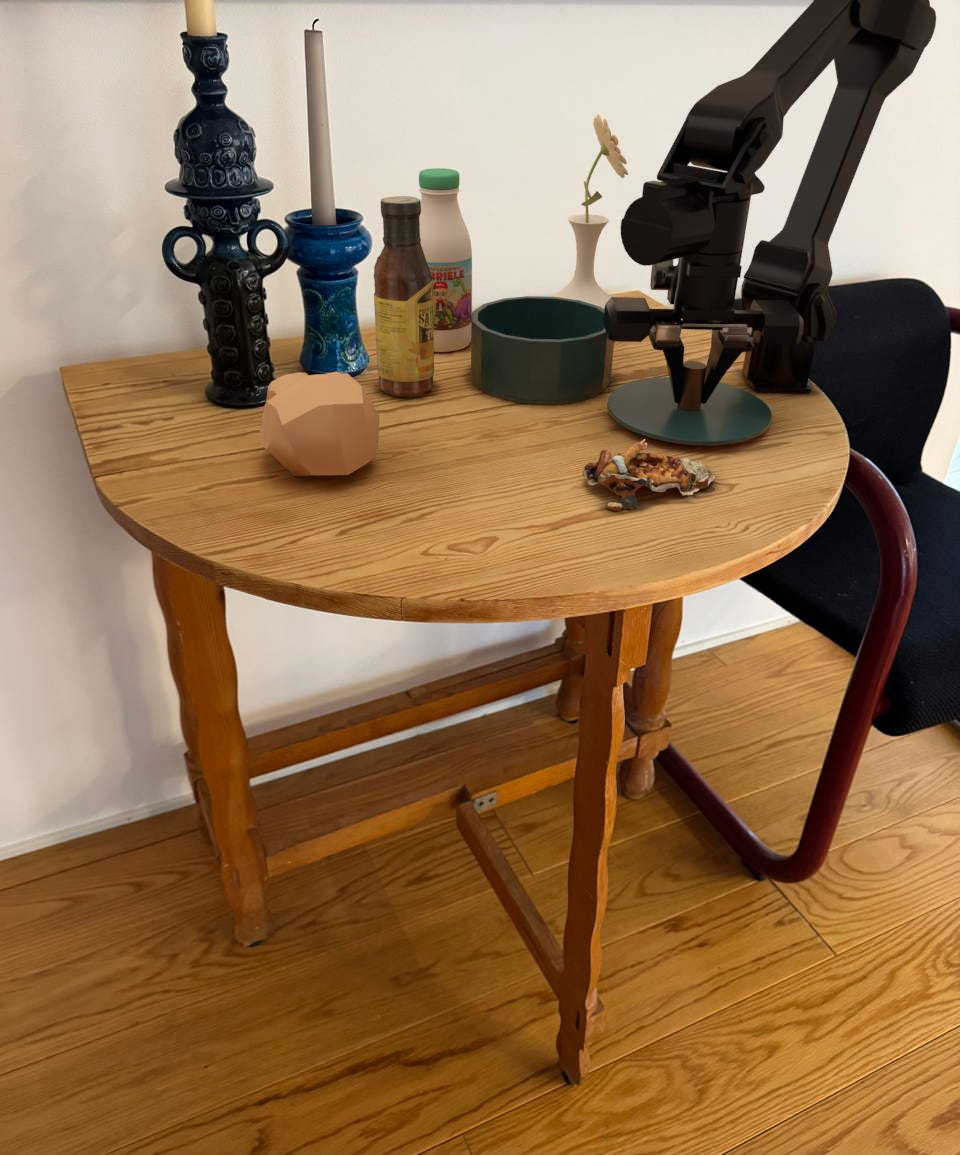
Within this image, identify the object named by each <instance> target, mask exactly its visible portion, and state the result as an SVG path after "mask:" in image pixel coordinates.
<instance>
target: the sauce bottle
mask: <svg viewBox="0 0 960 1155" xmlns="http://www.w3.org/2000/svg"><path fill="white" fill-rule="evenodd" d="M380 213H381V217H382V224H383V225H382V227H383V229H382V230H383V237H382V242H383V247H382V250H381V252H380V253H379V255H378V256H377V258H376V261H375V264H374V266H373V279H374V293H373V304H374V325H375V326H374V327H375V348H376V349H375V350H376V352H375V353H376V369H377V371H376V372H377V375H378V386H379V389H380V390H381V391H382V392H384V393H385V394H388V395H391V396H394V397H415V396H418V395H424V393H425V394H426V393H428V392H429V391H430V390H431V389H432V388H433V386H434V375H435V352H434V330H433V329H434V326H433V321H434V319H433V278H432V275H431V272H430V270H429V267H428V264H427V261H426V258H425V255H424V252H423V249H422V247H421V243H420V242H421V239H420V223H419V216H420V214H421V199H420V198H418V197H416V196H415V197H414V196H410V195H409V196H408V195H395V196H387V197H383V198H381V199H380Z"/></svg>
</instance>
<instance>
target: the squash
mask: <svg viewBox="0 0 960 1155" xmlns="http://www.w3.org/2000/svg"><path fill="white" fill-rule="evenodd" d="M265 400H266V401H265V403H264V406H263V410H262V415H261V416H262V417H261V422H260V428H259V435H258V441H257V442H258V443H259V444H260V446H262V447H263V448H264V449H265V450H266V451H267V452H268V453H269V454H271V456H273V457H274V458H275V459H276V460H277V461H278V463H280V464H281V465H282V466H283V467H284V468H285V469H286V470H287V471H289V473H291V475H293V477H322V476H325V477H326V476H327V477H328V476H349V475H350V474H352V473H354V472H355V471H357V470H359V469H361V468H362V467H364V466H365V465H367V464H368V463H369V462H370V460H372V458H373V457H374V456H375V454H377V452H378V451H379V447H380V443H379V442H380V413H379V412H378V411H377V409H376V407H375V406H374V404H373V402H372V401H371V399H370V398H369V396H368V395H367V392H366V391H365V389H364V387H363V385H361V384H360V383H359V382H358V381H357V380H355V379H354V378H353V377H352V376H351V375H350V374H349V373H348V372H346V373H344V372H342V373H340V372H339V371H333V372H327V373H319V374H311V375H309V374H308V373H307V372H300V371H299V372H294V373H288V374H284V375H281V376H279V377H277V378H275V379H274V380H272V381H270V383H269V384H268V386H267V392H266V399H265Z"/></svg>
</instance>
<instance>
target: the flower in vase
mask: <svg viewBox="0 0 960 1155" xmlns="http://www.w3.org/2000/svg"><path fill="white" fill-rule="evenodd" d="M592 125H593V128H594V131H595V134H596V137H597V141H598V143H599V145H600V151H599V152H598V154H597V156H596V157H595V160H594V162H593V163H592V166H591V168H590V170H589V173H588V175H587V178H586V181H585V180H584V181H583V186H584V201H583V202H582V203H581V204H580V205H581V206H584V207H585V213H584V214H583V213H582V214H573V215H570V216H568V217H567V221H568V222H569V224H570V225H571V228H572V231H573V233H574V237H575V238H574V239H575V245H576V246H575V247H576V248H575V249H576V250H575V251H576V257H575V258H576V260H575V261H576V262H575V270H574V273H573V274H574V275H573V276H572V279H571V280H570V281H569V282H568V284H567V285H565V286H564V287H563V288H561V289H559V291H557V292H556V293H554V294H553V295H552V296H551V297H560V298H567V299H574V300H580V301H583V302H587V303H590V304H593V305H597V306H600V307H602V308H603V309H605V305H606V303H607V301H608V300H609V299H610V298H611V297H612V296H610V295H609V294H608V293H607V292H606V291H605V290H604V289H603V288H602V287H601V286H600V285H599V284H598V282H597V281H596V278H595V268H594V267H595V256H596V250H597V247H598V246H597V245H598V242H599V238H600V236H601V234H602V231H603V230H604V228H605V227H606V225H607V224H608V223H609V222H610V219H609V218H608V217H606V216H603V215H598V214H589V206H590V205H592V204H594V203H596V202H598V201H599V200H601V199H602V198H603V196H602V194H601V193H600V192H599V191H598V190H596V191H595V192H594V193H593V195H592V194H591V193H590V190H589V184H590V181H591V178H592V175H593V173H594V170H595V169H596V166H597V164H598V163H599V161H600V159H601V157H602V155H603V156H605V157H606V160H607V161H608V162H609V164H610V166H611V167H612V169H613V170H614V171H615V173H616V174H617V175H618V176H619V177H620V178H621V179H625V176H629V171H628V169H627V168H626V167H625V165H627V164H628V162H627V160H626V157H625V156H624V155H623V154H622V152H621V149H620V148H619V146H618V145H619V139H618V137H617V135H615V134H612V132H611V131H612V130H611V128H610V127H609V123H608V120H607V119H606V118H605V117H603V119H602V117H601V115H600V114H598V113H597V114H596V116H594V117H593V122H592Z"/></svg>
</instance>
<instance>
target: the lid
mask: <svg viewBox="0 0 960 1155" xmlns="http://www.w3.org/2000/svg"><path fill="white" fill-rule="evenodd" d="M706 365H707V363H706V364H705V363H704V362H701V361H696V360H688V361H684V362H683V377H682V392H681V396H680V401H679V403H675V401H674V398H673V393H672V388H671V383H670V378H669V376H661V377H651V378H643V379H638V380H634V381H631V382H628V383H625V384H623V385H621V386H618V387H617V388H616V389H614V390H613V391H612V392H611V393H610V395H609V397H608V399H607V405H606V407H607V411H608V413H609V415H610V416H611V418H612V419H613V420H614V421H615V422H616V423H617V424H619V425H621V426H622V427H623V428H625V429H627V430H629V431H631V432H634V433H635V434H638V435H641V436H644V437H647V438H650V439H653V440H657V441H662V442H667V443H673V444H678V445H688V446H722V445H723V446H724V445H725V446H726V445H733V444H738V443H743V442H746V441H749V440H753V439H755V438H757V437H759V436H761V435H763V434H764V433H765V432H766V431H767V430H768V429H769V428H770V426H771V424H772V419H773V413H772V411H771V409H770V407H769V405H768V404H767V403H766V402H765V401H763V399H762V398H760V397H758V396H756V395H755V394H754V393H752V392H749V391H748V390H745V389H742V388H739V387H737V386H734V385H731V384H727V383H725V382H721V381H720V382H719V383H718V385H717V386H716V388H715V390H714V391H713V393H712V394H711V396H710V397H709V399H708V401H707V402H706V403H705V404H702V403H701V402H702V395H703V388H704V382H705V375H706V368H707V366H706Z"/></svg>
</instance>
